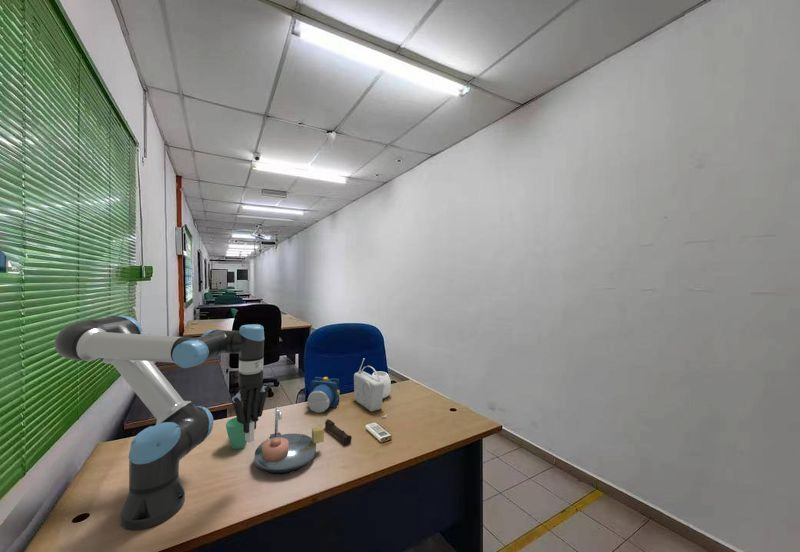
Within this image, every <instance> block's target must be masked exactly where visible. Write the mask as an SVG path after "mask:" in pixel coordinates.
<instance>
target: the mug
mask: <svg viewBox="0 0 800 552" xmlns="http://www.w3.org/2000/svg"><path fill="white" fill-rule="evenodd" d="M250 420H251V419H250ZM225 428H226V432H227V437H228V440H229V443H230V445H231V449H233V450H241V449H243V448H245V447H246V445H247V443H248V442H247V441H245V433H244V431H243V424H241V423H239V422H238V421H237V416H236V417H233V418H231V419H229V420H227V422H226V424H225Z"/></svg>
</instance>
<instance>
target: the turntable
mask: <svg viewBox="0 0 800 552" xmlns="http://www.w3.org/2000/svg"><path fill="white" fill-rule="evenodd" d="M276 437H278V438H285V439H287V440H288V442H289V444H288V455H287V456H286V457H285V458H284V459H282V460H280V461H277V462H266V461H264V460H263V459H262V445H263V444H264V442H266V441H267V440H270V439H273V438H276ZM273 438H270V437H269V438H267V439H266V440H265V441H263V442H262V443H260V444H259V445H258V446H257V448H256V449H255V451H254V464H255V465H256V467H258V468H259V469H261V470H262V471H263V470H265V471H270V472H284V471H290V470H293V469H296V468H299V467H301V466H303V465H305V464H307V465H308V464H309V462H310V461H312V460H313V458H314V457H315V455H316V453H317V444H320V443H324V441H325V429H324V427H323V426H322V425H321V426H315V427H312V428H311V436H308V435H307V434H303V433H284V434H281V435H279V436H275V437H273ZM305 466H306V465H305Z"/></svg>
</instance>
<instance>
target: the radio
mask: <svg viewBox="0 0 800 552" xmlns="http://www.w3.org/2000/svg"><path fill="white" fill-rule="evenodd" d="M365 359H366V358H364V357H363V359H362V362H361V365H360V367H359V370H358V371H357V372H355V373H354V374H353V388H354V389H353V391H354V400H355V401H356V402H357V403H358V404H359V405H361V406H362V407H364V408H365V409H367V410H368V411H369V412H375V411H378V410H381V409H382V405H383V399H384V398H383V390H384V383H383V381H381V380H380V378H379V376H378V374H377V372H378V371H377V370H376V369H375V368H374V367H373V366H371V365H366V366H363V363H364V361H365ZM362 366H363V368H362ZM365 368H371V369H372V370H373V372H375V373H376V375H377V377H378V379H377V378H375V377H374V376H372V374H370V373H368V372H366V371H364V370H365ZM382 398H383V399H382Z"/></svg>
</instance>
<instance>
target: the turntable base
mask: <svg viewBox="0 0 800 552" xmlns="http://www.w3.org/2000/svg"><path fill="white" fill-rule="evenodd" d="M307 465H308V463H307V464H305V465H303V466H301V467H299V468H296V469H293V470H290V471H284V472H270V471H265V470H262V471H263V472H264V473H267V474H269V475H274V476H283V475H288V474H292V473H295V472H297V471H299V470H301V469H303V468H304V467H305V466H307Z"/></svg>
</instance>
